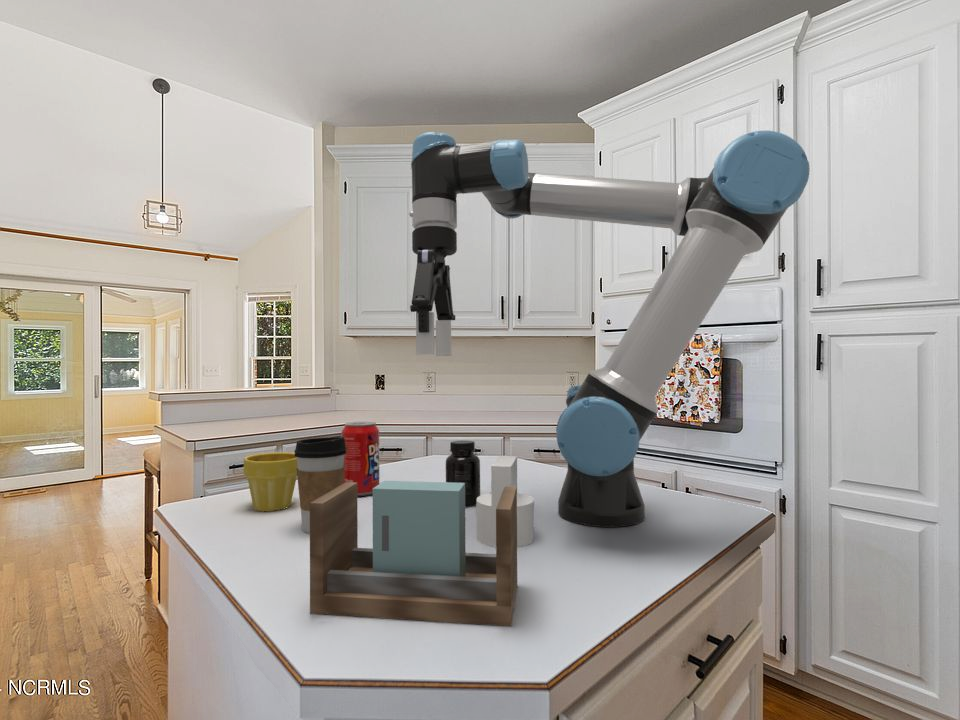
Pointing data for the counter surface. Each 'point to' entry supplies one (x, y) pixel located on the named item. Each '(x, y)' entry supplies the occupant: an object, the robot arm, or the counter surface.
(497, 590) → the wooden book rack
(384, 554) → the door panel
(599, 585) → the counter surface
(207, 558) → the counter surface
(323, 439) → the coffee cup
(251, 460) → the plant pot
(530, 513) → the cylinder with rectangular tab
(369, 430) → the soda can
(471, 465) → the supplement bottle
